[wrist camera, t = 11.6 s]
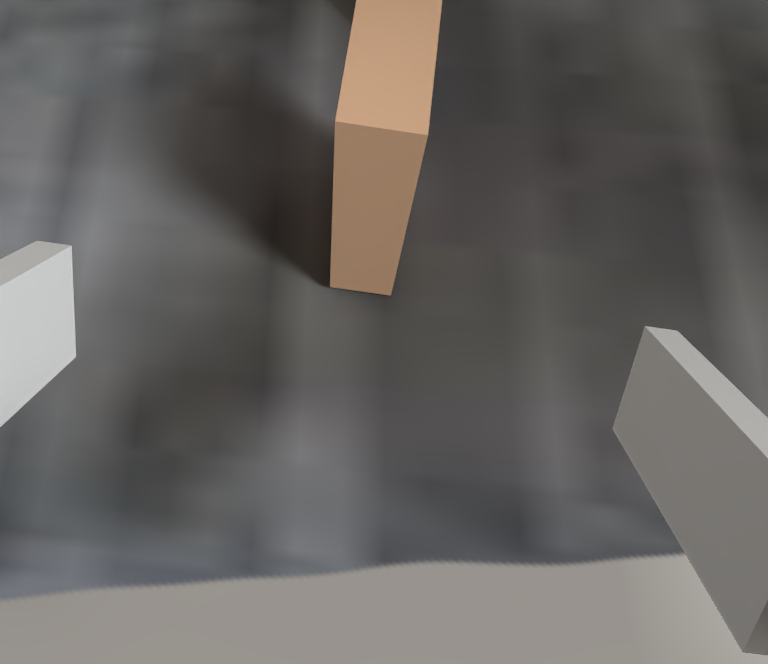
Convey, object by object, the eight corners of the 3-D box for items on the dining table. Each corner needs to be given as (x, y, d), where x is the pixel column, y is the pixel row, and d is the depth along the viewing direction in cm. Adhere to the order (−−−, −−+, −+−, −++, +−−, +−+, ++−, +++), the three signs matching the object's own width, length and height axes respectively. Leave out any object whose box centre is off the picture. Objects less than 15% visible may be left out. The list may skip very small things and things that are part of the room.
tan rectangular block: (404, 177, 35) (444, -20, 24) (390, 295, 32) (427, 135, 21) (348, 168, 35) (362, -33, 24) (329, 286, 32) (335, 121, 21)
